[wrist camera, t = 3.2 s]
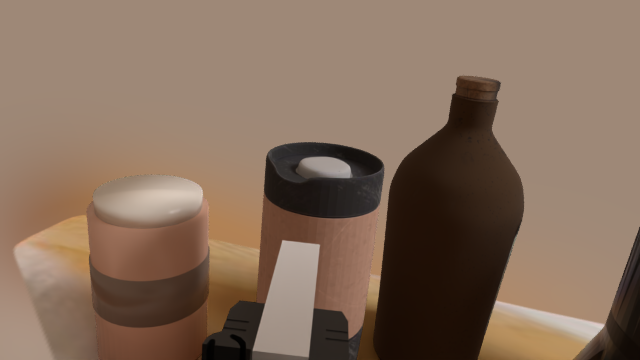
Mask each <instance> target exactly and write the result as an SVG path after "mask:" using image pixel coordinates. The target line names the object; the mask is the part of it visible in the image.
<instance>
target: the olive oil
mask: <svg viewBox="0 0 640 360" xmlns="http://www.w3.org/2000/svg"><path fill="white" fill-rule="evenodd" d="M500 84H501V83H500V82H499V81H497V80H494V79H489V78H482V77H474V76H459V77H458V78H457V82H456V85H457V88H456V93H455V94H453V95H452V101H451V106H450V113H449V120H448V122H447V124H446V125H445V126H444V127H443V128H442V129H441V130H440V131H438V132H437V133H436V134H435V135H433V136H432V137H430V138H429V139H428V140H426V141H425V142H424V143H422V144H421V145H420V146H418V147H417V148H416V149H414V150H413V151H412V152H411V153H409V154H408V155H407V156H406V157H405V158H404V160H403V161H402V162H401V164H400V165H399V167H398V169H397V171H396V173H395V175H394V177H393V180H392V183H391V186H390V191H389V200H388V211H387V221H386V231H385V242H384V252H383V261H382V271H381V280H380V289H379V298H378V306H377V313H376V321H375V329H374V347H375V350H376V352H377V354H378V356H379V357H380V359H381V360H477V359H478V356H479V352H480V349H481V346H482V342H483V339H484V335H485V333H486V330H487V326H488V323H489V320H490V317H491V313H492V310H493V307H494V304H495V301H496V298H497V295H498V291H499V288H500V285H501V282H502V279H503V276H504V273H505V270H506V267H507V264H508V261H509V258H510V255H511V252H512V249H513V246H514V243H515V240H516V237H517V234H518V231H519V228H520V225H521V222H522V217H523V212H524V195H523V186H522V182H521V179H520V177H519V175H518V173H517V171H516V169H515V168H514V166H513V165H512V163H511V162H510V160H509V159H508V157H507V156H506V154H505V152H504V151H503V149H502V148H501V146H500V145H499V143H498V142H497V140H496V138H495V137H494V135H493V132H492V124H493V121H494V117H495V113H496V109H497V105H498V102H499V101H498V100H497V99H496V97H497V93H498V91H499V89H500Z"/></svg>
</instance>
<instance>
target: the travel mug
mask: <svg viewBox="0 0 640 360" xmlns="http://www.w3.org/2000/svg"><path fill="white" fill-rule="evenodd" d="M383 178H384V164H383V162H382V161H381V160H380V159H379V158H377V157H376V156H374V155H372V154H370V153H368V152H365V151H362V150H359V149H356V148H352V147H348V146H343V145H337V144H328V143H316V142H303V143H302V142H301V143H290V144H284V145H281V146H277V147H275V148H273V149H271V150H270V151H269V152H268V154H267V158H266V169H265V184H264V199H263V213H262V230H261V244H260V258H259V272H258V287H257V302H256V303H266V299H267V296H268V292H269V288H270V285H271V281H272V277H273V274H274V270H275V266H276V263H277V259H278V255H279V252H280V248H281V244H282V240H285V241H293V242H302V243H311V244H319V245H320V249H319V259H318V269H317V279H316V289H315V299H314V308H317V309H325V310H334V311H342V312H343V314H344V315H345V317H346V319H347V320H348V334H349V360H357V354H358V349H359V344H360V338H361V333H362V328H363V321H364V316H365V308H366V301H367V294H368V286H369V279H370V271H371V265H372V257H373V250H374V243H375V235H376V228H377V220H378V214H379V206H380V199H381V192H382V185H383Z"/></svg>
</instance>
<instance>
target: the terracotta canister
mask: <svg viewBox="0 0 640 360" xmlns="http://www.w3.org/2000/svg"><path fill="white" fill-rule="evenodd" d="M202 194H203V191H202V188H201V187H200V186H199V185H198V184H196V183H195V182H193V181H191V180H188V179H184V178H180V177H176V176H168V175H137V176H130V177H124V178H119V179H116V180H113V181H110V182H107V183H105V184H103V185H101V186H100V187H98V188H97V189H96V190H95V191H94V193H93V201H92V202H91V203H90V204H89V206H88V208H87V222H88V235H89V247H90V255H89V264H90V276H91V289H92V301H93V307H94V310H95V320H96V332H97V345H98V355H99V359H100V360H196V359H197V358H198V357H199V356H200V355H201V353H202V343H203V342H204V341H205V339H206V338H207V299H208V294H209V245H208V230H209V204H208V201H207V200H206V199H205V198H204V197H203V195H202Z"/></svg>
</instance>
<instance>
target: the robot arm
mask: <svg viewBox="0 0 640 360" xmlns="http://www.w3.org/2000/svg"><path fill="white" fill-rule="evenodd" d="M319 249H320V245H319V244H311V243H302V242H293V241H285V240H282V244H281V248H280V252H279V255H278V259H277V263H276V266H275V270H274V274H273V277H272V281H271V285H270V288H269V292H268V296H267V299H266V303H256V302H248V301H239V302H238V303H237V304H235V305H234V306H233V307H232V308H231V309H230V311H229V314H228V316H227V320H226V322H225V324H224V327H223V329H222V331H221V332H217V333H214V334H212V335H210V336H209V337H207V338H206V339H205V341H204V342H203V343H202V360H349V334H348V320H347V319H346V317H345V315H344V314H343V312H342V311H334V310H325V309H317V308H314V299H315V289H316V279H317V269H318V259H319ZM573 360H640V227H639V231H638V233H637V236H636V239H635V242H634V245H633V248H632V250H631V253H630V256H629V259H628V262H627V264H626V267H625V270H624V273H623V276H622V279H621V282H620V284H619V287H618V290H617V293H616V296H615V299H614V301H613V304H612V308H611V310H610V313H609V316H608V319H607V322H606V324H605V326H604V327H603V329H602V330H601V331H600V332H599V333H598V334H597V335H596V336H595V337H594V338H593V339H592V340H591V341H590V342H589V343H588V344H587V345H586V346H585V348H584V349H583V350H582V351H581V352H580V353H579V354H578V355H577V356H576V357H575V358H574V359H573Z"/></svg>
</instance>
